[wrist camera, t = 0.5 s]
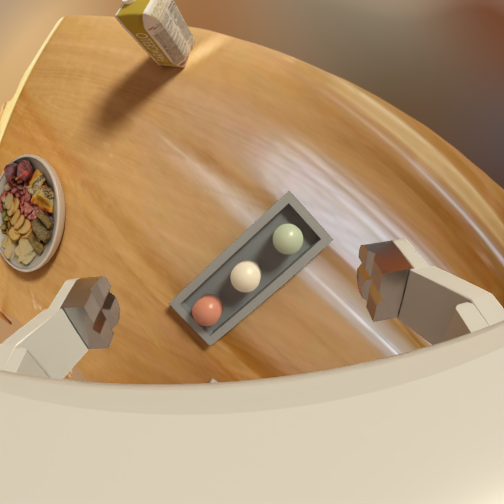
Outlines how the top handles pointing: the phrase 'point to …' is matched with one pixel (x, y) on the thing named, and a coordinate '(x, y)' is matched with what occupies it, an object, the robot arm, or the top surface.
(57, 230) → the bowl
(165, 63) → the juice carton
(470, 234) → the top surface
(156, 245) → the top surface
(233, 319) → the grey rectangular tray
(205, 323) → the brick button
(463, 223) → the top surface
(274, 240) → the sage button
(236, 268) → the cream round piece
